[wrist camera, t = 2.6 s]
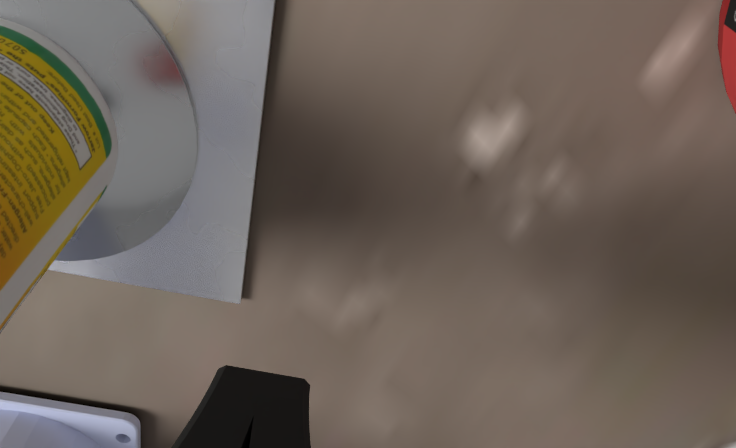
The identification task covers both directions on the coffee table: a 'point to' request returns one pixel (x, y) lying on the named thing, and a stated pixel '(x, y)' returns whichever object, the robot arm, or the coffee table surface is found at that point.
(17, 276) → the supplement bottle
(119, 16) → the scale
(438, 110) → the coffee table surface
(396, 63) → the coffee table surface
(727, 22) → the canned food
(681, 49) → the coffee table surface
